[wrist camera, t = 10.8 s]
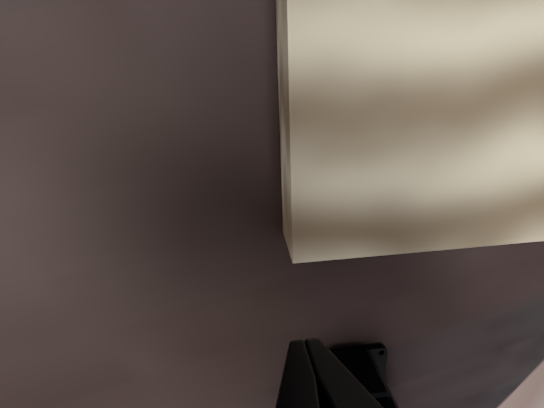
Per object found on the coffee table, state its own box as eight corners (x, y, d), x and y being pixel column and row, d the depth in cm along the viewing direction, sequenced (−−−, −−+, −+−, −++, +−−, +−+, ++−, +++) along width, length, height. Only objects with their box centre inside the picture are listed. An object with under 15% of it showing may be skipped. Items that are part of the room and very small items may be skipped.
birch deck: (498, 215, 22) (552, 240, 18) (283, 233, 21) (292, 263, 17) (561, -53, 16) (656, -98, 13) (273, -51, 15) (284, -100, 11)
